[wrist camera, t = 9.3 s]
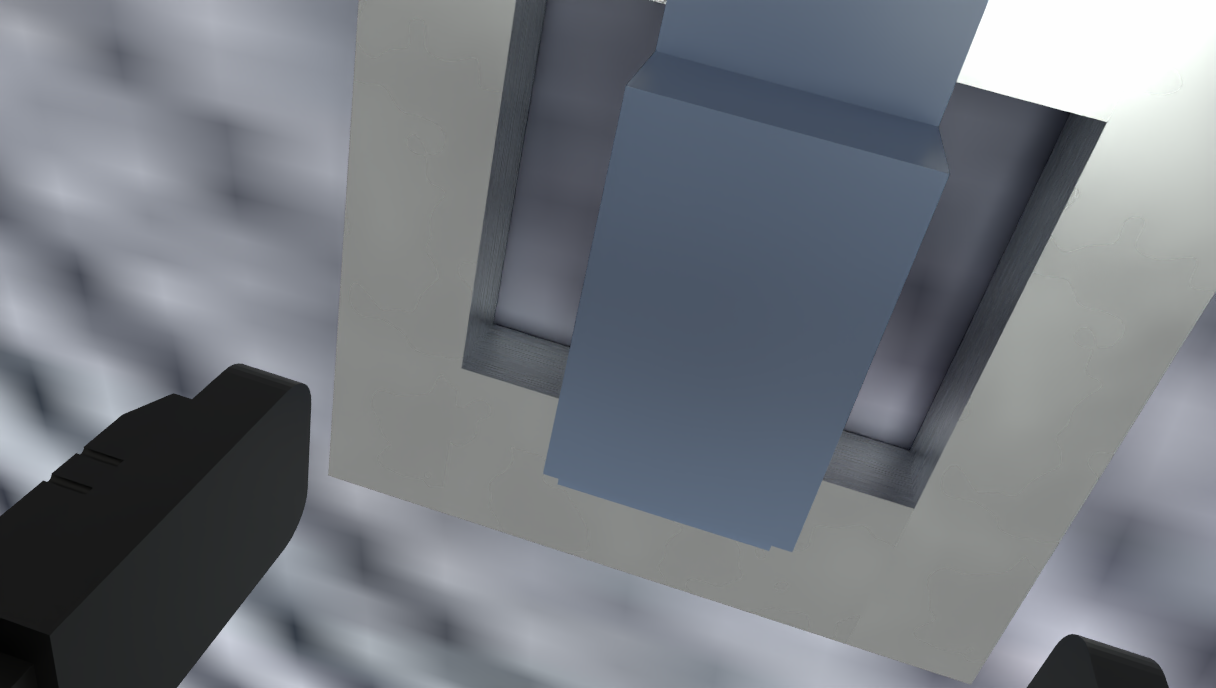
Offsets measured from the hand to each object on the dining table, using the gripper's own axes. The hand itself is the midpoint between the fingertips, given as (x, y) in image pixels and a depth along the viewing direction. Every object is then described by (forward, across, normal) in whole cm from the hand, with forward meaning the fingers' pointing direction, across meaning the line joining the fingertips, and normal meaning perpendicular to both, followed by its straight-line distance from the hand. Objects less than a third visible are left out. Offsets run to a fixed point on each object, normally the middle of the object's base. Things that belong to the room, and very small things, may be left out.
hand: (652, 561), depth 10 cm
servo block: (+10, 0, 0) cm, 10 cm away
